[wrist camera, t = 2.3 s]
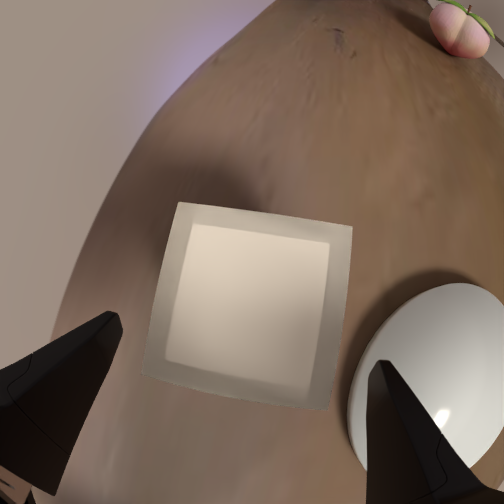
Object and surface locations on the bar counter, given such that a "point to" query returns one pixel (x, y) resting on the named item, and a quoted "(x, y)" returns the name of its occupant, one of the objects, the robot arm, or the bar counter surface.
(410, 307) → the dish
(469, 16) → the decorative fruit
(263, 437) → the bar counter surface
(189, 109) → the bar counter surface
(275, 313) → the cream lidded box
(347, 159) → the bar counter surface
